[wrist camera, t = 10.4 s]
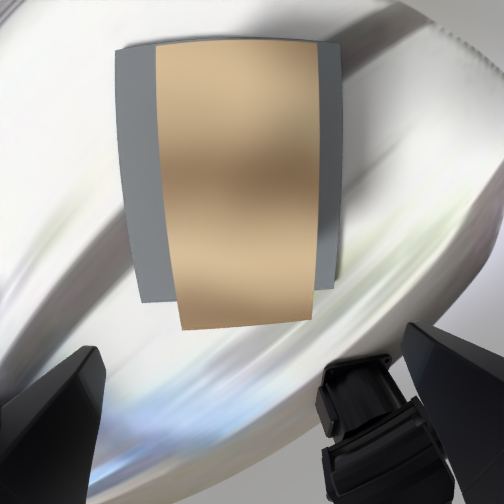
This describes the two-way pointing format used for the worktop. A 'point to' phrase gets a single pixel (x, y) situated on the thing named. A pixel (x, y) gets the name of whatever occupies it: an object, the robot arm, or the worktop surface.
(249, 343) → the worktop surface
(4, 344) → the worktop surface
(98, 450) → the worktop surface
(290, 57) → the oak stool
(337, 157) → the charcoal mat
